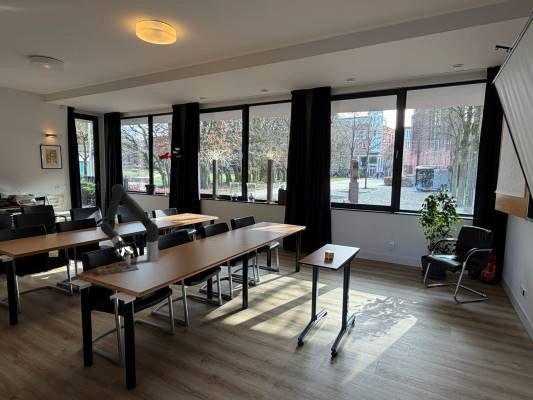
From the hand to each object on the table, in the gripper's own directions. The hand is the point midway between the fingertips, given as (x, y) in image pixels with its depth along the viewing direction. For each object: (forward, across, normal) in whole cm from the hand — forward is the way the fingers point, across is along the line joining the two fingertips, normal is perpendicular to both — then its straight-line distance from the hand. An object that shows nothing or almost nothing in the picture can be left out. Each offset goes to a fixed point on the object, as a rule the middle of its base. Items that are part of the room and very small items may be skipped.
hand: (129, 258), depth 246 cm
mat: (+5, 0, +7) cm, 9 cm away
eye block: (0, -12, +12) cm, 17 cm away
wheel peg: (+5, 0, +6) cm, 8 cm away
